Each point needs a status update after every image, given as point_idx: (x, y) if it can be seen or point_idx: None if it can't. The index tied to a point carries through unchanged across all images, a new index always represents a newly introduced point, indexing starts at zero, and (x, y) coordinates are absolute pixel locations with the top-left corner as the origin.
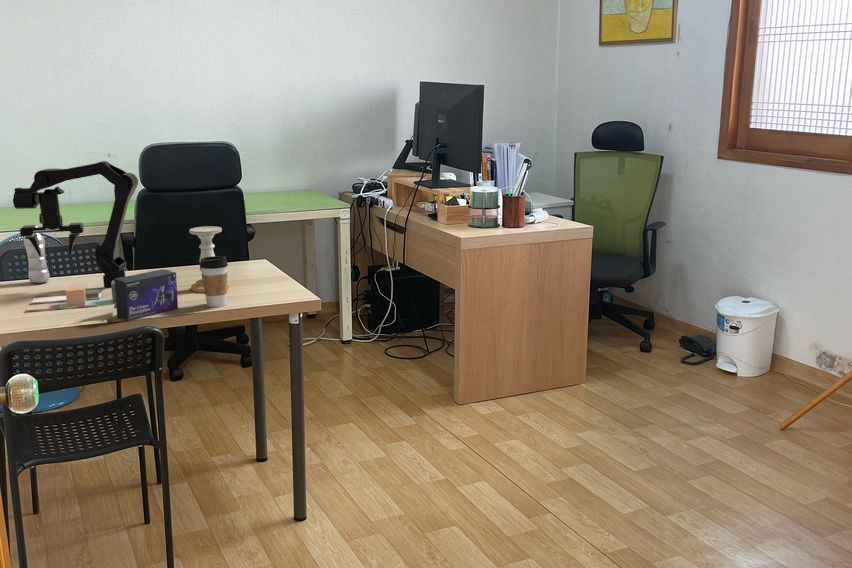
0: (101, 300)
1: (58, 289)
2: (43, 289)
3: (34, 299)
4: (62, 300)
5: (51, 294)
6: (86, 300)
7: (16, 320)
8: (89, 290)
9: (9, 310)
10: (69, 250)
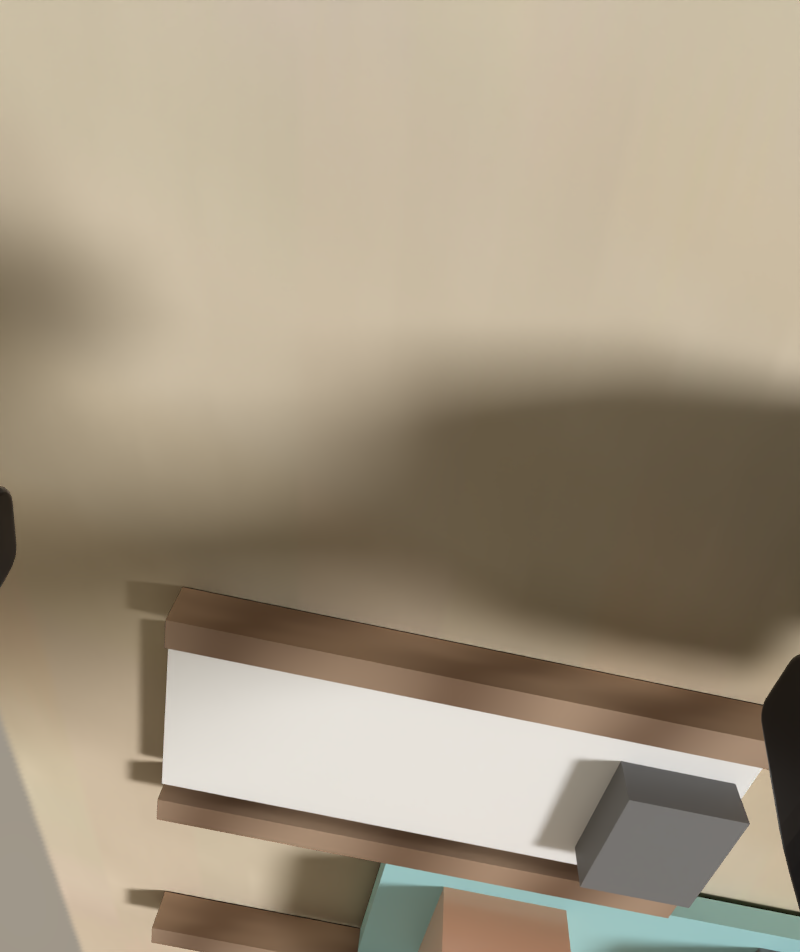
0: (667, 935)
1: (427, 210)
2: (233, 86)
3: (178, 692)
4: (400, 853)
5: (323, 656)
6: (565, 923)
7: (123, 937)
8: (655, 824)
9: (25, 751)
10: (787, 855)
